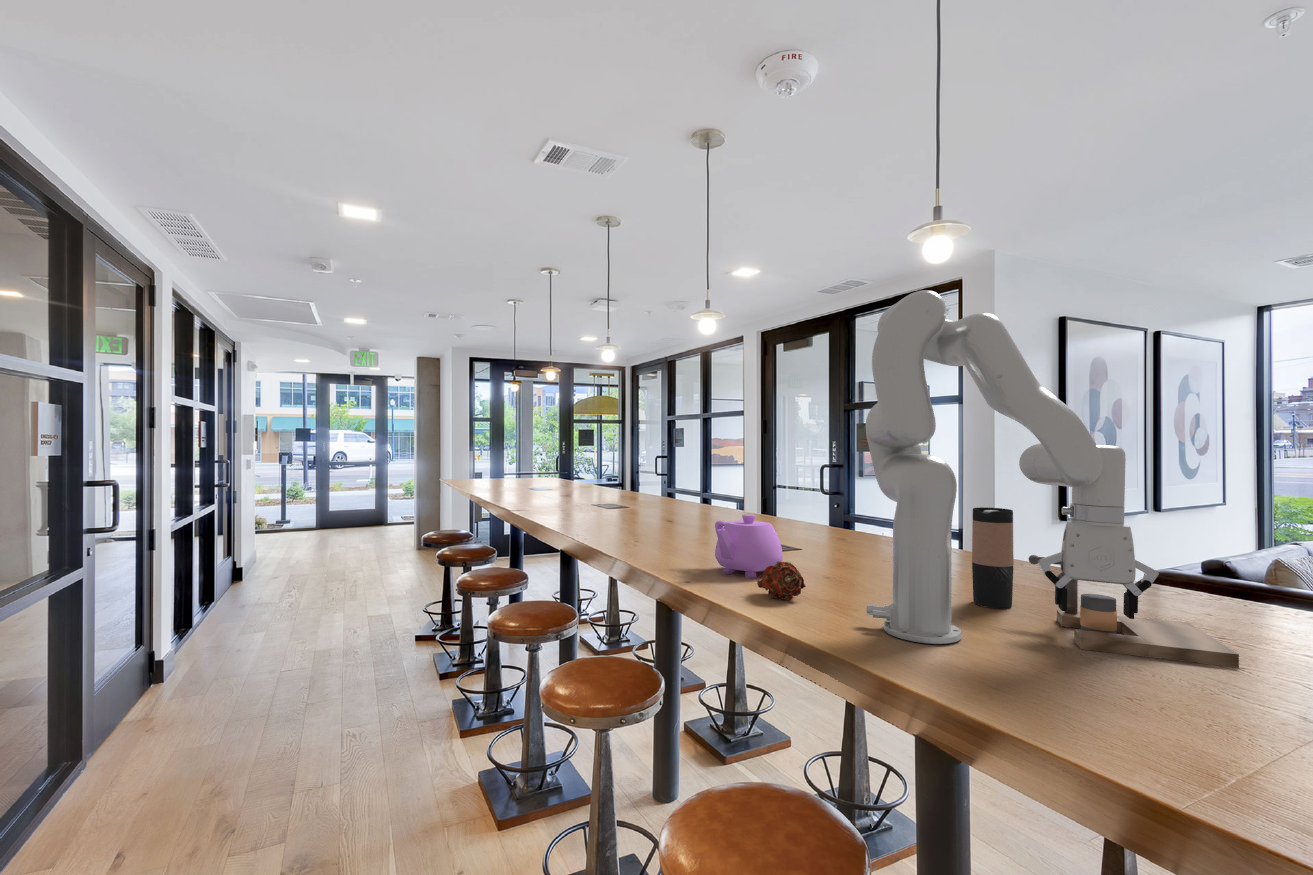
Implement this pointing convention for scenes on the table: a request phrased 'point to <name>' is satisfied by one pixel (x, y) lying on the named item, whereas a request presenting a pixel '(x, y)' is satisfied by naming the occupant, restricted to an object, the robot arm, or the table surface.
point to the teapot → (747, 545)
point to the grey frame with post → (1146, 636)
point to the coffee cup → (1098, 613)
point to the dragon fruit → (782, 580)
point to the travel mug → (992, 557)
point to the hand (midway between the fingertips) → (1095, 613)
